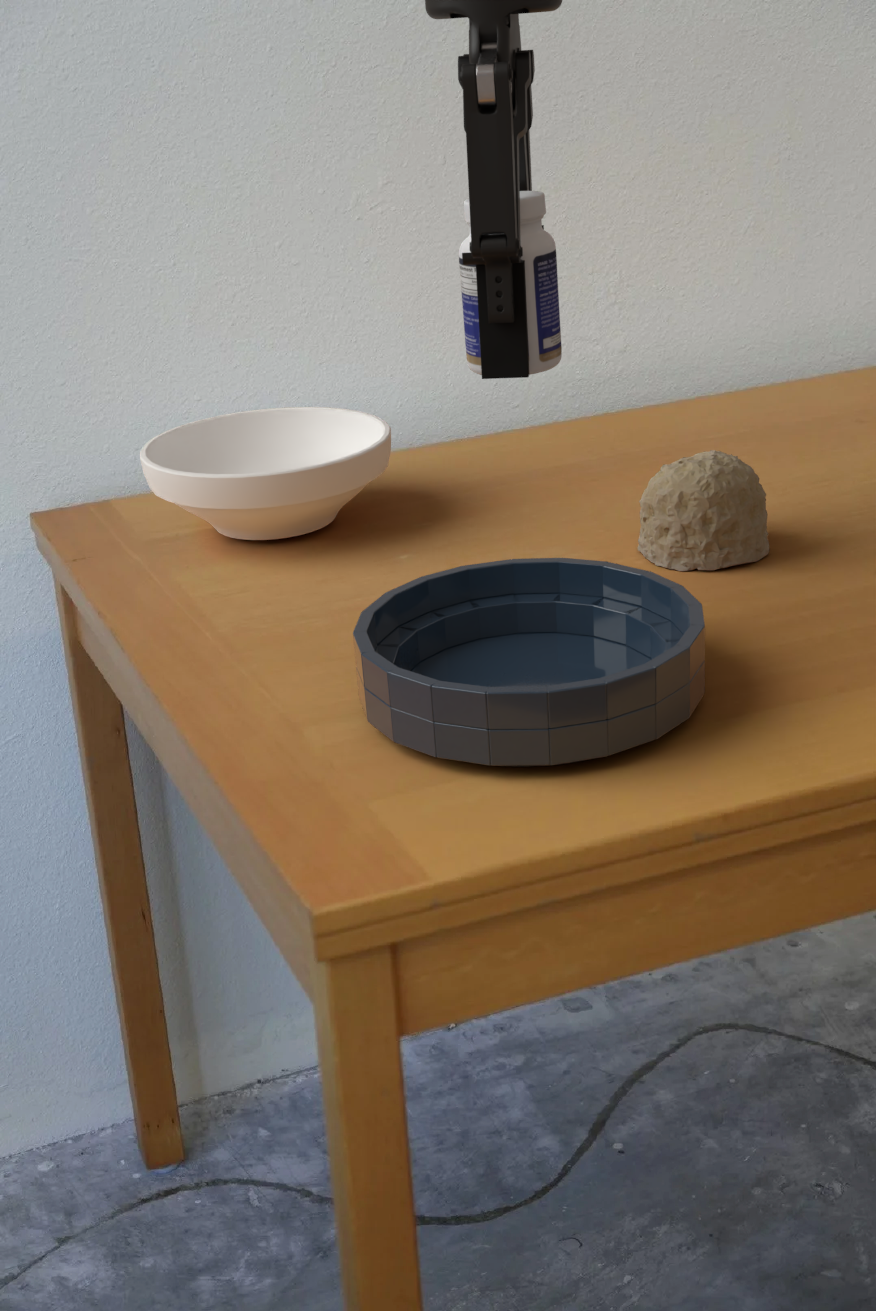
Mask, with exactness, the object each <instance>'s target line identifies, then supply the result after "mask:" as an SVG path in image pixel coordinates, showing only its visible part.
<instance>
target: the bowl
mask: <svg viewBox="0 0 876 1311" xmlns="http://www.w3.org/2000/svg"><path fill="white" fill-rule="evenodd" d="M391 451H392V427H391V426H390V425H389V423H388V422H387V421H386V420H385V419H383V418H380V417H379V416H378V415H374V414H372V413H369V412H365V411H361V410H356V409H355V410H354V409H349V408H342V407H341V408H340V407H331V406H286V407H271V408H261V409H252V410H244V411H238V412H232V413H231V412H230V413H226V414H220V415H219V414H218V415H215V416H212V417H206V418H202V419H197V420H194V421H191V422H187V423H184V424H181V425H178V426H176V427H172V428H170V429H167V430H165V431H163V432H162V433H159V434H157V435H155V436H154V437H152V438H150V439H149V440H148V441H147V442H146V443H145V444H143V446H142V448H141V449H140V451H139V459H140V460H139V461H140V464H141V469H142V472H143V476H144V478H145V480H146V482H147V485H148V487H149V490H150V491H151V492H152V493H153V494H154V495H155V496H156V497H158V498H160V499H162V500H164V501H166V502H169V503H172V504H174V505H176V506H177V507H178V508H181V509H183V510H184V511H186V512H188V513H189V514H191V515H194V516H195V517H197V518H199V519H201V520H203V521H205V522H207V523H208V524H210V526H212V527H213V528H214V529H215V531H217V532H218V534H220V535H222V536H225V537H228V538H231V539H237V540H247V541H267V540H268V541H269V540H279V539H287V538H292V537H298V536H302V535H305V534H309V533H313V532H316V531H317V530H321V529H323V528H325V527H327V526H328V525H329V524H331V523H332V522H333V521H334V520H335V519H336V517H337V515H338V513H339V511H340V510H341V509H342V508H343V507H344V506H345V505H346V504H348V503H349V502H350V501H351V500H352V499H354V498H355V497H357V495H359V493H361V491H363V489H365V487H367V486H368V485H369V484H370V482H373V481H374V480H376V479H377V478H379V477H380V476H381V475H382V474H384V472H385V471H386V470H387V468H388V467H389V463H390V457H391Z"/></svg>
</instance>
